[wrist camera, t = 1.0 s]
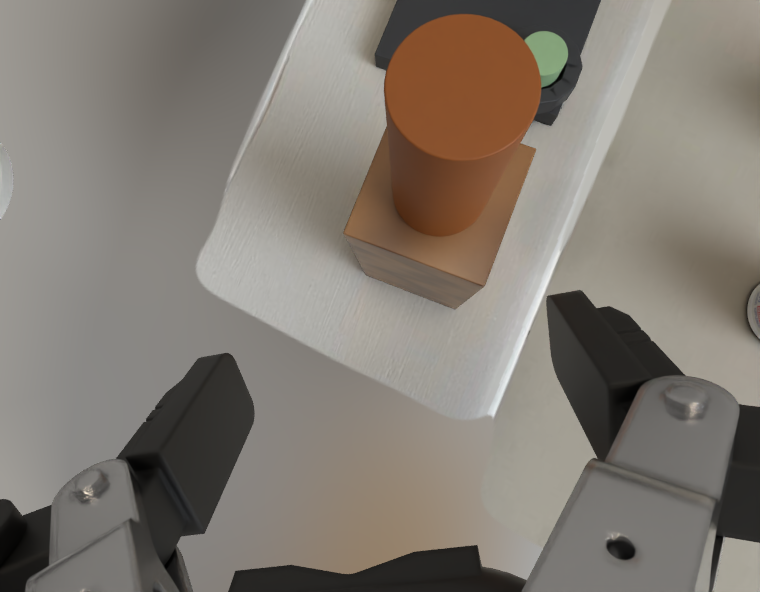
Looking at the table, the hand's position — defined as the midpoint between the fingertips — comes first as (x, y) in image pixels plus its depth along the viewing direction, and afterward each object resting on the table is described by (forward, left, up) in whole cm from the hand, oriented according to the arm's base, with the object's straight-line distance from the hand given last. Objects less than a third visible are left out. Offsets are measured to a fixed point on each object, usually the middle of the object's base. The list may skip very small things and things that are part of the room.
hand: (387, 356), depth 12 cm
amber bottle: (-1, +9, -12) cm, 15 cm away
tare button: (+2, +25, -23) cm, 34 cm away
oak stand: (-1, +9, -26) cm, 28 cm away
